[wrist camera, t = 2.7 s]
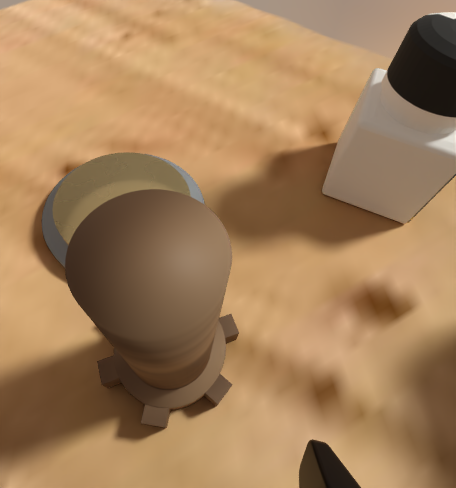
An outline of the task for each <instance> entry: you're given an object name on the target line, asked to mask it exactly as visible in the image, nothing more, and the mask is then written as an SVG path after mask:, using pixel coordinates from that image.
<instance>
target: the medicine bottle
mask: <svg viewBox="0 0 456 488" xmlns="http://www.w3.org/2000/svg"><path fill="white" fill-rule="evenodd" d="M455 176H456V13H455V12H445V13H434V14H429V15H426V16H423V17H422V18H420V19H418V20H417V21H415V22H414V23H413V24H412V25H411V27H410V28H409V30H408V33H407V34H406V36H405V38H404V40H403V42H402V44H401V45H400V47H399V49H398V51H397V53H396V55H395V57H394V59H393V60H392V62H391V64H390V66H389V68H388V70H387V71H386V70H383V69H380V68H376V69H374V70H373V71H372V73H371V75H370V77H369V79H368V81H367V83H366V85H365V87H364V89H363V91H362V93H361V95H360V97H359V99H358V101H357V103H356V105H355V107H354V109H353V111H352V113H351V115H350V117H349V120H348V122H347V124H346V126H345V128H344V130H343V132H342V134H341V136H340V138H339V140H338V143H337V146H336V149H335V152H334V155H333V158H332V161H331V164H330V167H329V170H328V173H327V176H326V179H325V182H324V185H323V188H322V193H323V194H325V195H327V196H330V197H333V198H335V199H338V200H341V201H344V202H346V203H349V204H352V205H354V206H357V207H360V208H362V209H365V210H368V211H371V212H373V213H376V214H379V215H381V216H384V217H387V218H390V219H392V220H395V221H398V222H400V223H403V224H406V223H408V222H409V221H410V220H411V219H412V218H413V217H414V216H415V215H416V214H417V213H418V212H419V211H420V210H421V209H422V208H423V207H424V206H425V205H426V204H427V203H428V202H429V201H430V200H431V199H432V198H433V197H434V196H435V195H436V194H437V193H438V192H439V191H440V190H441V189H442V188H443V187H444V186H445V185H446V184H447V183H449V182H450V181H451V180H452V179H453V178H454V177H455Z"/></svg>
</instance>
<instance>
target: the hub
mask: <svg viewBox="0 0 456 488" xmlns="http://www.w3.org/2000/svg"><path fill="white" fill-rule="evenodd" d="M147 189H162V190H170V191H175V192H179V193H182V194H185V195H188V196H190V197H191V195H190V190H189V187H188V185H187V183H186V181H185V179H184V178H183V176H182V175H181V174H180V173H179V172H178V171H177V170H176V169H175V168H174V167H173V166H171V165H170V164H168V163H167V162H165V161H163V160H161V159H159V158H156V157H153V156H150V155H146V154H140V153H115V154H109V155H105V156H101V157H98V158H95V159H93V160H91V161H88V162H86V163H85V164H83V165H81V166H79V167H78V168H77V169H75V170H74V171H73V172H72V173H71V174H69V175H68V176H67V177H66V179H65V180H64V181H63V182H62V184H61V185H60V187H59V188H58V190H57V193H56V195H55V198H54V201H53V209H52V210H53V219H54V223H55V225H56V228H57V230H58V232H59V233H60V235H61V236H62V238H63V239H64V241H65V242H66V244H67V245H69V243H70V240H71V238H72V236H73V234H74V232H75V230H76V229H77V227H78V226H79V225H80V223H81V222H82V221H83V220H84V219H85V218H86V217H87V216H88V215H89V214H90V213H91V212H92V211H93V210H94V209H96V208H97V207H99V206H100V205H102V204H103V203H105V202H107V201H108V200H110V199H112V198H114V197H117V196H120V195H122V194H125V193H129V192H133V191H138V190H147Z"/></svg>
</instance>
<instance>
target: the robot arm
mask: <svg viewBox="0 0 456 488" xmlns="http://www.w3.org/2000/svg"><path fill="white" fill-rule="evenodd" d="M299 488H361V487H360V486H359V484H358V483H357V482H356V481H355V479H354V478H353V477H352V475H351V474H350V473H349V471H348V470H347V469H346V467H345V466H344V465H343V464H342V462H341V461H340V460H339V458H338V457H337V456H336V454H335V453H334V452H333V451H332V449H331V448H330V447H329V445H328V444H326V443H325V442H321V441H317V440H310V441H309V442H308V444H307V447H306V450H305V453H304V456H303V459H302V462H301V465H300V470H299Z"/></svg>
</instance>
